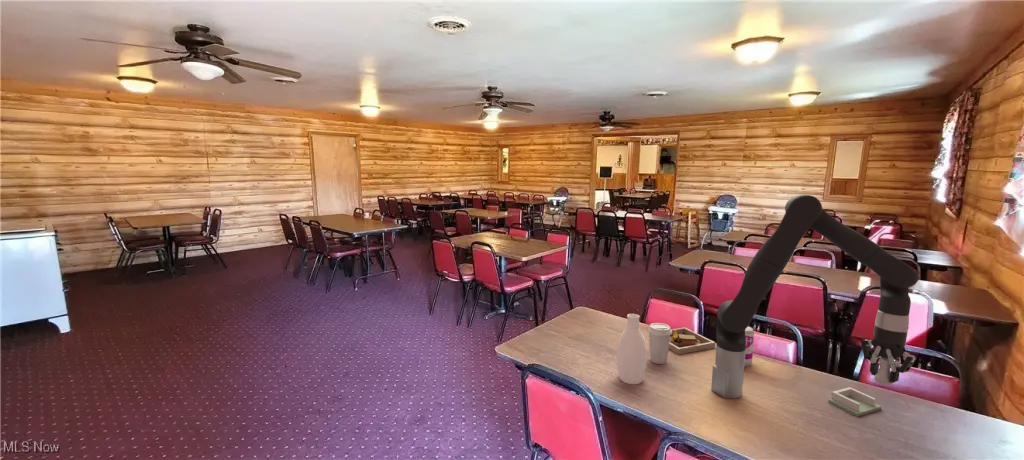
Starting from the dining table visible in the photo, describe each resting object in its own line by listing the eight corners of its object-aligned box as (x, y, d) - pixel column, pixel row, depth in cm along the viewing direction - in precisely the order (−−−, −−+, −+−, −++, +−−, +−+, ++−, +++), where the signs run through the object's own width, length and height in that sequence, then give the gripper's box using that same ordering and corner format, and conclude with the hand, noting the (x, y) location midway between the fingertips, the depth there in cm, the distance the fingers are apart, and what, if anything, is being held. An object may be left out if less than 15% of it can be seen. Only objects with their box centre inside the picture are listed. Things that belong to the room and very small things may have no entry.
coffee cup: (645, 363, 172) (647, 329, 170) (647, 353, 181) (648, 321, 179) (670, 367, 169) (672, 332, 167) (670, 357, 178) (672, 324, 175)
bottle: (651, 378, 160) (654, 315, 157) (637, 389, 152) (640, 323, 148) (624, 369, 168) (626, 308, 164) (610, 379, 160) (612, 315, 156)
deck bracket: (857, 416, 135) (858, 406, 134) (828, 402, 143) (829, 392, 143) (880, 409, 139) (882, 399, 138) (851, 395, 147) (852, 386, 147)
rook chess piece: (869, 378, 132) (873, 355, 131) (882, 378, 133) (886, 354, 131) (882, 386, 128) (886, 361, 127) (896, 385, 128) (900, 361, 127)
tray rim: (678, 354, 180) (679, 349, 180) (650, 337, 198) (650, 332, 198) (714, 347, 187) (715, 342, 187) (684, 332, 205) (684, 327, 204)
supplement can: (754, 367, 168) (757, 332, 166) (732, 365, 170) (735, 330, 168) (747, 358, 176) (750, 324, 174) (726, 356, 178) (729, 323, 176)
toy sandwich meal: (699, 339, 196) (700, 330, 195) (699, 351, 184) (700, 341, 183) (671, 335, 201) (671, 326, 200) (669, 346, 189) (670, 336, 188)
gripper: (857, 319, 133) (850, 369, 135) (911, 336, 120) (902, 392, 122) (872, 317, 135) (865, 366, 138) (928, 333, 122) (919, 387, 125)
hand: (883, 378), depth 130 cm, fingers closed on rook chess piece, 4 cm apart
